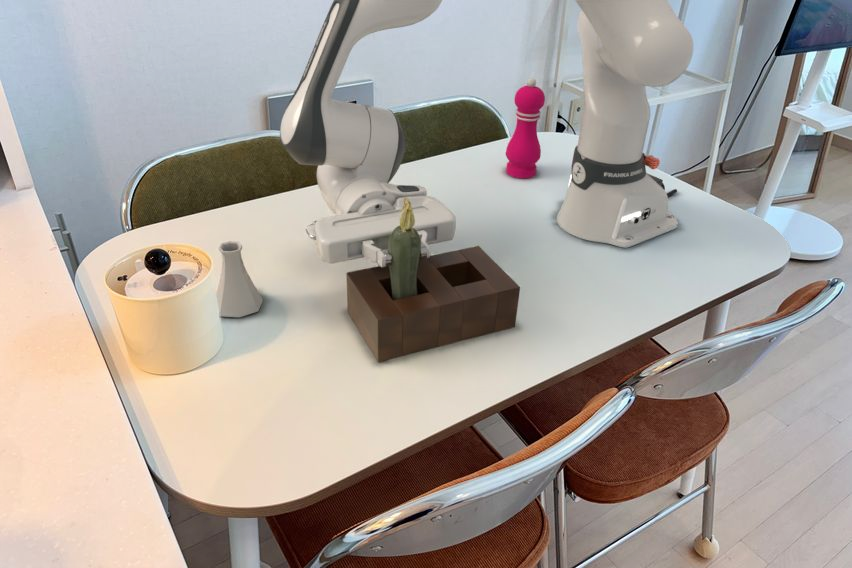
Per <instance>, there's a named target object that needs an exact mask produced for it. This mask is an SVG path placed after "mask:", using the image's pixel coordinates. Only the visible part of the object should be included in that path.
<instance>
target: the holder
mask: <svg viewBox="0 0 852 568" xmlns="http://www.w3.org/2000/svg"><path fill="white" fill-rule="evenodd" d="M416 285H417V294H418V295H415V296H411V297H406V298H402V299H397V300H392V287H391V276H390V270H389V266H386V267H381V266H380V265H377V266H373V267H367V268H362V269H357V270H352V271H348V272H346V298H347V299H346V300H347V303H346V304H347V314H348V315H349V317H350V319H351V320H352V322H353V323H354V325H355V327H356V328H357V330H358V331H359V333H360V335H361V337H362V339H363V340H364V341H365V343H366V345H367V347H368V348H369V350H370V351H371V353H372V355H373V357H374V358H375V360H376V362H377V363H380V362H384V361H388V360H392V359H396V358H401V357H404V356H408V355H412V354H416V353H420V352H424V351H428V350H431V349H436V348H441V347H444V346H447V345H451V344H455V343H460V342H463V341H466V340H469V339H474V338H479V337H482V336H486V335H490V334H494V333H498V332H501V331H502V332H503V331H505V330H506V331H507V330H509V329H514V328H516V323H517V316H518V308H519V299H520V291H521V286H520V285H519V284H518V283H517V282H516V281H515V280H514V279H513V278H512V277H511V276H510V275H509V274H508V273H507V272H505V270H504V269H503V268H502V267H501V266H500V265H499V264H497V262H496V261H495V260H494V259H493V258H492V257H491V256H489V255H488V253H487V252H486V251H485V250H484V249H483V248H481V247H480V245H474V246H471V247H466V248H465V247H464V248H460V249H456V250H451V251H446V252H441V253H437V254H430V258H424V259H419V263H418V269H417V281H416Z"/></svg>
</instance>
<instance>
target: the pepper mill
mask: <svg viewBox="0 0 852 568" xmlns="http://www.w3.org/2000/svg"><path fill="white" fill-rule="evenodd" d="M536 85H537V80H536V79H535V78H532V77H531V78H529V79H527V82H526V85H523V86H521V87H520V88H518V90H517V91H516V92H515V95H514V104H515V106H516V109H515V114H514V116H515V118H516V125H515V129H514V132H513V134H512V136H511V138H510V139H509V142H508V143H507V146H506V149H505V157H506V159H507V160H508V162H507V163H506V168H505V172H506V174H507V175H508V176H510V177H513V178H515V179H521V180H523V179H524V180H526V179H531V178H534V177H535V176H536V174H537V166H538V165H537V164H536V163H538V161H540V159H541V155H542V154H541V152H542V149H541V143H540V141H539V137H538V131H537V130H538V121H539V120H540V119H541V109H542V108H543V107H544V105H545V101H546V96H545V93H544V91H543V90H542V89H541V88H540V87H539V86H536Z"/></svg>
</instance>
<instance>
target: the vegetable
mask: <svg viewBox="0 0 852 568" xmlns="http://www.w3.org/2000/svg"><path fill="white" fill-rule="evenodd" d="M404 199H405V200H404V205H403V208H402V212H401V215H400V226H398V227H396V228H395V229H394V230H393V232H392V233H391V236H390V238H389V244H388V250H389V252H390V253H391V255H392V260H391V261H392V265H390V266H389V270H390V276H391V287H392V300H397V299H402V298H406V297H411V296H415V295H418V294H417V285H416V281H417V269H418V263H419V257H420V251H421V240H420V236H419V234H418V232H417V231H416V230H415V229H414V228H413V226H414V224H415V217H414V214H413V210H412V207H411V202H410V201H409V199H408V198H406V197H404Z"/></svg>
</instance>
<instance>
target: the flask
mask: <svg viewBox="0 0 852 568" xmlns="http://www.w3.org/2000/svg"><path fill="white" fill-rule="evenodd" d="M242 250H243V244H241V243H240V241H236V240H235V241H233V240H230V241H225V242H221V243H220V245H219V247H218V251H219V252H220V253H221V259H222V260H221V261H222V262H221V273H220V278H219V282H218V286H217V289H216V293H217V298H218V303H219V308H220V316H219V317H225V318H226V317H227V318H242V317H245V316H248V315H251V314H254V313H257V312H259V310H260V309H261V306H262V304H263V301H264V300H263V297H262V296H261V294H260V292H259V291H258V289H257V287H256V285H255V284H254V283H253V280H252V278H251V276H250V275H249V272H248V271H247V269H246V267H245V263H244V261H243V257H242Z"/></svg>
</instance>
